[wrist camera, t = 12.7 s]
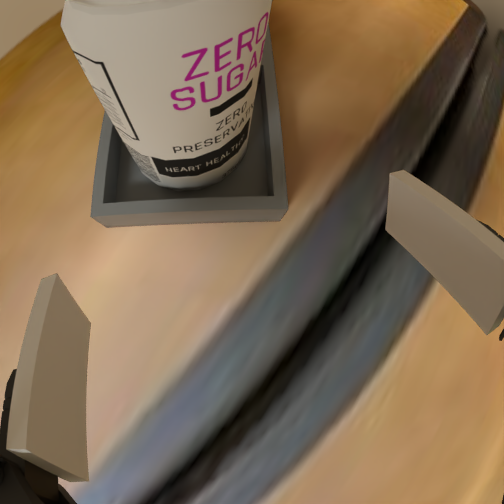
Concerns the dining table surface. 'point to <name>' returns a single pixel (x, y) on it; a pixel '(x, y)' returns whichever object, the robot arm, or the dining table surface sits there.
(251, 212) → the divided grey tray
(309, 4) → the dining table surface
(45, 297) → the robot arm
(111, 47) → the supplement can
